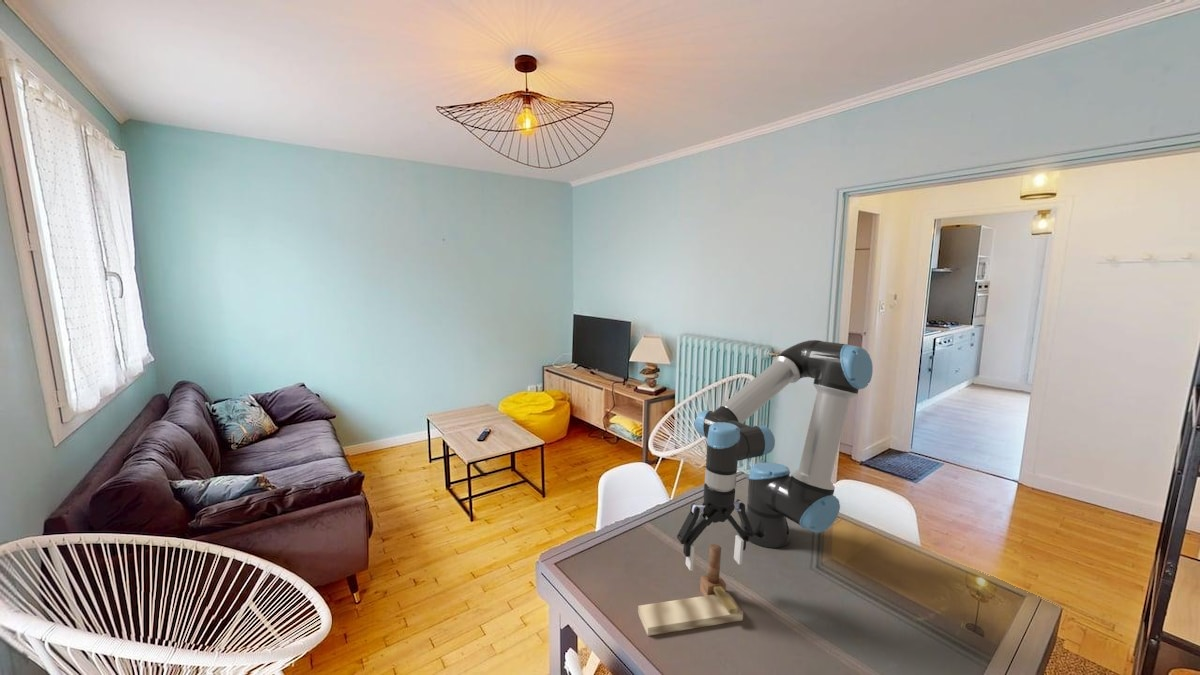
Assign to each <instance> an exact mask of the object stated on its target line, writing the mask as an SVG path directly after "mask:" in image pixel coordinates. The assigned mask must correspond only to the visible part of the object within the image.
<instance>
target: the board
mask: <svg viewBox="0 0 1200 675" xmlns="http://www.w3.org/2000/svg"><path fill="white" fill-rule="evenodd" d="M726 594H727V595H728V596H729V598H730V599H731V600H732V602H733V603H734V604H735V606H736V607H737V612H736V613H729V612H728V611H727V609H726V608H725V606H724V605H723V604H722V602H721V601H720V599H719V598H718V596H717V595H716V594H714V595H707V596H703V595H702V596H695V597H688V598H682V599H681V598H680V599H674V600H669V601H661V602H654V603H647V604H641V605H638V607H637V614H638V616H639V619H640V622H641V624H642V626H643V629H644V631H645V633H646V635H647V636H648V637H649V636H654V635H662V634H667V633H673V632H681V631H686V630H691V629H697V628H703V627H710V626H715V625H721V624H727V623H734V622H741V621H743V620H744V611H743V610H742V609H741V607H740V606H739V605H738V604H737V602H736V601H735V599H734V598H733V597H732V596H731V593H730V592H726Z"/></svg>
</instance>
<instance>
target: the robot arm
mask: <svg viewBox="0 0 1200 675" xmlns="http://www.w3.org/2000/svg"><path fill="white" fill-rule="evenodd" d="M873 366H874V365H873V360H872V358H871V356H870V353H869V352H868V351H867V350H866V349H865V348H863V347H861V346H856V345H851V344H847V343H839V342H831V341H823V340H817V339H812V340H811V339H809V340H805V341H802V342H799V343H796V344H794V345H792V346H790V347H788V348H786V349H785V350H783V351H781V352H780V353H778V354H777V355H776V356H774V358H773V359H772V362H771V364H770V365H769V366H768V367H766V368H765V369H763V371H762V372H761V373H760V374H758V375H757V376H755V377H754V378H753V379H752V380H751V381H750V382H748V383H746V385H745V386H743V387H742V388H741V389H739V391H737V392H736V393H734V394H733V395H732V396H731V397H730V398H729V399H727V400H726V401H725V402H723V403H722V404H721V405H720V406H719V407H717V408H716V409H715V410H714V411H713V410H708V409H707V410H702V411H700V412H699V413H698V414H697V416H696V418H695V421H694V427H695V430H696V432H697V434H699V435H701V436H702V437H704V438H706V457H705V458H706V459H705V472H704V485H703V501H702V502H703V503H702V504H699V505H698V504H696V503H695V502H692V503H691V505H690V509H689V510H690V511H689V513H688V515H687V517H686V519H685V520H684V522H683V524H682V525H681V528H680V530H679V532H678V533H677V535H676V539H677V540H678V541H679V543H680V544H681V545H683V552H682V553H683V555H684V557H685V565H686V567H687V568H688V570H689V571H690V572H691V571H692V572H693V571H694V561H695V560H694V559H695V558H694V557H695V545H694V542H695V541H696V539H698V538H699V536H701V534H703V531H704V530H705V529H706V528H707V527H709V526H710V525H711V524H712V523H713V524H714V523H715V524H716V523H725V521H728V523H729V524H730V525H731V526H732V528H733V529H734V530H735V531H736V533H738V534H735V537H734V538H735V540H734V548H733V549H734V551H733V552H734V553H733V560H734V561H735V562H736V563H737V564H738V565H739V566H740V565H743V553H744V551H745V550H746V548H747V542H751V543H753V544H755V545H757V546H760V547H765V548H769V549H770V548H771V549H774V548H775V549H776V548H783V547H786V546H787V545H788V544H789V543H790V539H791V532H790V528H789V523H788V520H790V521H792V522H794V523H796V524H797V525H799V527H801V528H803V529H806V530H809V531H811V532H813V533H823V532H825V531H827V530H829V528H830V527H831V526H832V525H833V524H834V523H835V521H836V520H837V518H838V516H839V513H840V510H841V504H840V503H841V502H840V500H839V498H837V497H836V495H834V493H835V488H836V487H835V486H834V484H833V482H832V481H831V479H832V477H833V476H832V474H833V471H834V467H835V462H836V459H837V455H838V451H839V446H840V442H841V440H842V439H841V437H842V434H843V430H844V425H845V421H846V417H847V412H848V409H849V404H850V400H851V399H853V398H854V397H856V396H858V394H859V390H861V389H865V388H867V387H868V385H869V383H871V381H872V378H873V377H872V376H873ZM803 378H811V379H814V380H813V384H812V385H813V386H814V388H815V389H816V395H815V400H814V403H813V409H812V412H811V416H810V421H809V425H808V429H807V434H806V436H805V442H804V446H803V449H802V454H801V458H800V461H799V462H800V463H799V466H798V469H797V470H796V471H794V472H792V473H791V471H790V468H789V467H788V466H786V465H784V464H782V463H781V464H780V463H775V462H759V463H755V464H753V465H752V466H751V467H750V471H749V476H748V487H747V488H748V489H747V490H748V491H747V505H746V504H744V502H742V501H741V500H740V499H739V498H738V499H736V500H735V497H736V486H737V475H738V474H737V471H738V462H739V461H744V460H747V459H753V458H758V457H762V456H764V455H768V454H770V453H772V452H773V450H774V449H775V444H776V438H775V436H774V434H773V432H772V431H771V429H770V428H768V426H765V425H754V426H752V425H751V426H750V425H747V424H746V423H745V422H746V421H747V420H748V419H750V417H751V416H752V415H755V413H756V412H757V411H759V410H760V409H761V408H762V407H763V406H765V405H766V404H767V403H768V402H769V401H770V400H772V399H773V398H774V397H776V395H777V394H779V393H780V392H781V391H782V390H784V388H786V387H787V386H788V385H789V384H790V383H791V384H792V383H793V384H795V383H797V382H798V381H799V380H801V379H803ZM790 474H791V475H790ZM734 510H736V512H737V515H738V517H739V520H740V522H739V523H740V524H738V522H737V521H736V520H735V518H734V517H733V515H731V514H732V513H733V512H734ZM701 512H702V513H701ZM706 518H707V519H706Z"/></svg>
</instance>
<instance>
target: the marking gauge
mask: <svg viewBox="0 0 1200 675" xmlns="http://www.w3.org/2000/svg"><path fill="white" fill-rule="evenodd" d="M721 558H722V547H721V545H718V544H714V543H713V544H710V545H709V555H708V567H707V572H708V573H707V575H701V576H700V584H699V585H700V586H699V591H700V593H701V594H702V596H707V595H714V594H716V595H717V596H718V598H719V599H720V601H721V602H722V604H723V605H724V606H725V608H726V609H727V611H728V612H729V613H736V612H737V607H736V606H735V604H734V603H733V602H732V600H731V599H730V598H729V596H728V595H727V594H726V593H727V592H726V590H727V583H726V582H725V580H724V579H723V578H722V577H721V576H720V575H721V574H720V571H721Z"/></svg>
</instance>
